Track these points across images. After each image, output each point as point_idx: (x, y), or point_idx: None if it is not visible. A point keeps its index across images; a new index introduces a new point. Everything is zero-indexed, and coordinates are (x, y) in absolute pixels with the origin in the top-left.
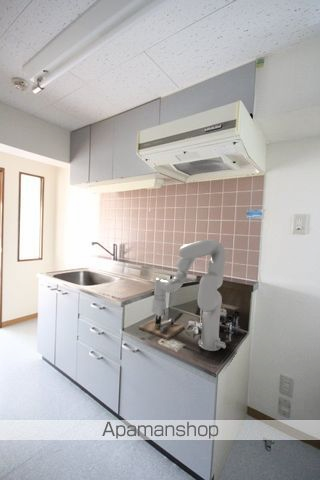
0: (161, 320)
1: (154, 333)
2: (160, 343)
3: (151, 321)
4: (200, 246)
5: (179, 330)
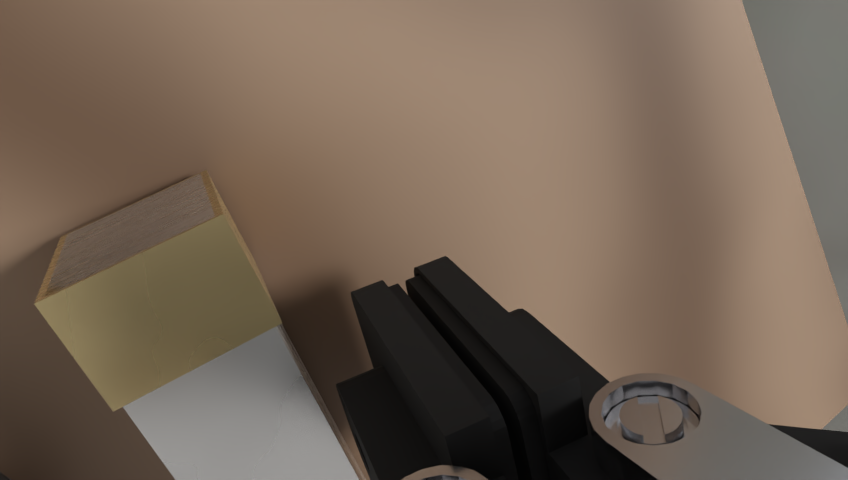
0: None
1: None
2: None
3: (735, 186)
4: None
5: None
